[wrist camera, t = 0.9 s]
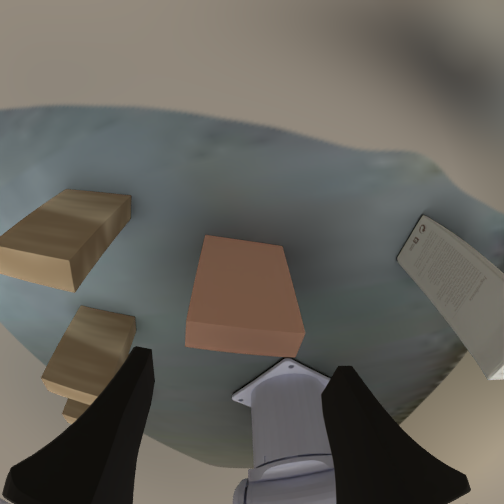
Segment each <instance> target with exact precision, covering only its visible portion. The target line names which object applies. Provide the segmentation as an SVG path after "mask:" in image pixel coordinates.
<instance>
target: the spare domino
mask: <svg viewBox="0 0 504 504" xmlns="http://www.w3.org/2000/svg"><path fill="white" fill-rule="evenodd" d="M304 336H305V330H304V326H303V322H302V318H301V314H300V310H299V306H298V302H297V299H296V295H295V291H294V287H293V283H292V280H291V276H290V272H289V268H288V265H287V261H286V257H285V254H284V250H283V247H282V246H279V245H272V244H266V243H259V242H252V241H245V240H238V239H231V238H224V237H217V236H210V235H205V238H204V242H203V246H202V251H201V255H200V259H199V264H198V268H197V273H196V277H195V282H194V286H193V291H192V296H191V300H190V305H189V310H188V315H187V320H186V338H185V347H191V348H198V349H206V350H214V351H222V352H231V353H241V354H252V355H263V356H277V357H294V358H295V357H296V355H297V352H298V350H299V348H300V345H301V343H302V340H303V338H304Z"/></svg>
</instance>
